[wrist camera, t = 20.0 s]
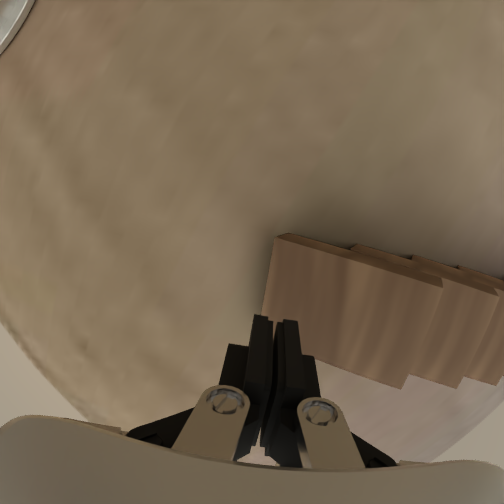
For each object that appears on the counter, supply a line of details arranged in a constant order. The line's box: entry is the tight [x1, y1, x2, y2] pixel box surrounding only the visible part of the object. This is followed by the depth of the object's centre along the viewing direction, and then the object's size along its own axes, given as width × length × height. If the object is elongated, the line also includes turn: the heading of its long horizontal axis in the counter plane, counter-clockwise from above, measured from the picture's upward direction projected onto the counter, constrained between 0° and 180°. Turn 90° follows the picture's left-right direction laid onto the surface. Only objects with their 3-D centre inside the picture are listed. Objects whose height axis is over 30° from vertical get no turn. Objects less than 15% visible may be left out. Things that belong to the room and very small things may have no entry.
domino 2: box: [350, 244, 500, 389], centre depth 16 cm, size 2×6×9 cm
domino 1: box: [261, 233, 444, 389], centre depth 16 cm, size 2×6×9 cm
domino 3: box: [411, 255, 504, 386], centre depth 16 cm, size 2×6×9 cm
